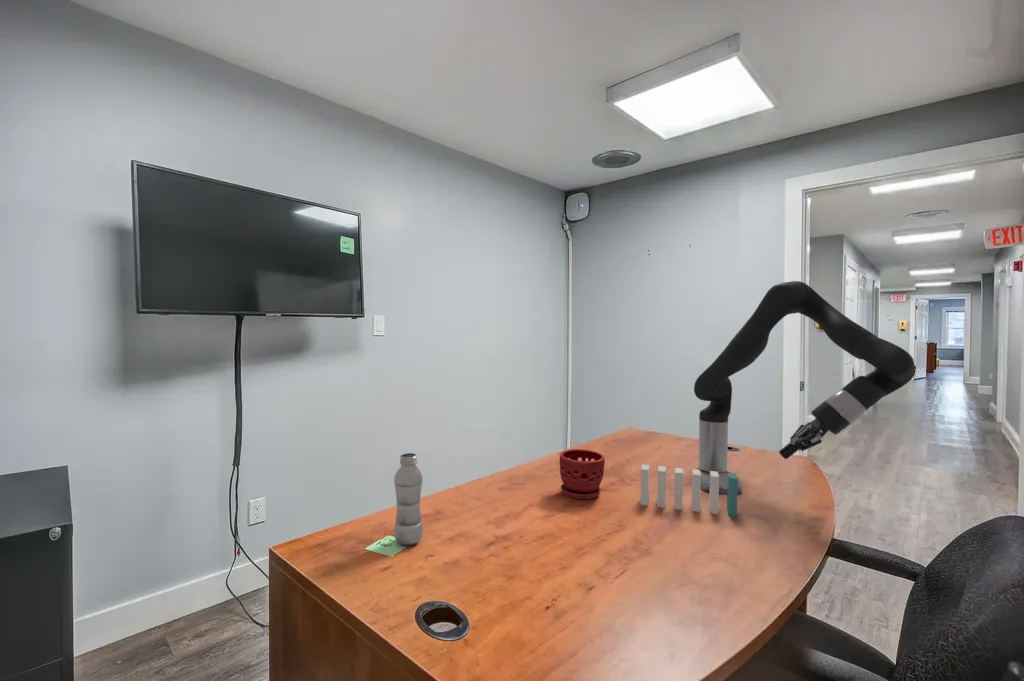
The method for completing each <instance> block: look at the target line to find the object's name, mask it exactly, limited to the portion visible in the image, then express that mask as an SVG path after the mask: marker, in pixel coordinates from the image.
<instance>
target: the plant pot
mask: <svg viewBox="0 0 1024 681" xmlns="http://www.w3.org/2000/svg"><path fill="white" fill-rule="evenodd" d="M605 458H606V457H605V456H604V455H603V454H602V453H600V452H598V451H594V450H588V449H582V448H581V449H580V448H579V449H578V448H576V449H575V448H573V449H572V448H571V449H567V450H564V451H561V452H560V453H559V474H560V479H561V482H562V484H561V485H560V490H561V492H562V493H563V494H564V495H565V496H567V497H569V498H572V499H578V500H590V499H595V498H597V497H598V495H600V493H601V487H600V486H601V483H602V481H603V478H604V472H605V461H606V460H605ZM579 459H581V460H579ZM586 459H587V460H586Z"/></svg>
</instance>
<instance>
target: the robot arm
mask: <svg viewBox="0 0 1024 681" xmlns="http://www.w3.org/2000/svg"><path fill="white" fill-rule="evenodd" d="M792 314H801V315H802V316H805V317H807V318H810V319H811V320H812V321H813V322H815V323H817V325H819V326H820V328H821V330H823V332H824V333H825V335H826V336H827V337H828V338H829V340H830V341H831V342H833V344H835V345H836V346H838V347H839V348H840V349H842V350H843V351H845V352H846V353H848V354H850V355H851V356H852V357H853V358H856V359H858V360H864V361H865V362H867V363H868V364H870V365H871V366H872V367H874V370H872V371H871V372H869V373H868V374H866V375H858V376H857V377H855V378H854V379H852V380H851V381H850V382H848V383H847V384H846V385H845V386H843V387H842V388H841V389H839V390H838V391H836V392H834V393H833V394H831V395H830V396H829V397H827V399H825V400H824V401H823V402H822V403H820V404H819V405H818V406H816V407H815V408H814V409H813V410H812V411H811V415H812V416H813V417H814V419H813V420H812V421H810V422H809V421H807V422H806V423H805V424H801V425H799V427H798V428H797V429H796V430H795V432H794V433H793V435H792V436H791V437H790V441H789V443H787V444H786V445H784V447H783V448H780V450H778V453H779V454H780V456H781V457H782V458H783V459H785V460H787V459H789V458H791V456H793V455H794V454H796V453H797V452H800V451H803V452H804V451H806V450H808V449H811V448H813V447H815V446H817V445H819V444H821V443H822V441H823V440H822V439H824V437H825V435H826V434H827V433H828V432H830V433H831V434H833V435H835V436H837V435H838V434H840V433H841V432H842V431H843V430H844V429H846V428H848V427H849V426H850V425H851V424H853V423H854V422H855V421H856V420H857V419H859V418H860V417H861V416H862V415H863V414H864V413H865V412H866V411H868V410H869V409H871V407H873V406H874V405H875V404H877V403H878V402H879V401H880V400H881V399H882V398H884V397H886V396H889V395H890V394H892V393H894V392H896V391H898V390H899V389H900V388H903V387H904V386H905V385H907V384H908V383H909V382H911V380H912V379H913V378H914V376H915V375H916V366H915V361H914V359H913V356H912V355H911V354H910V353H909V352H908V351H906V350H905V349H903V348H902V347H900V346H898V345H896V344H894V343H893V342H890V341H888V340H886V339H883V338H881V337H879V336H876V335H875V334H874V333H872V332H871V331H869V330H867V329H866V328H865V327H863V326H862V325H860V324H858V323H856V322H855V321H853V320H852V319H851V318H849V317H847V316H846V315H845V314H843V313H842V312H841V311H839V310H837V308H835V307H834V306H833V305H831V303H829V302H828V301H827V300H825V299H824V298H823V297H822V296H821V295H820V294H819V293H817V291H815V289H813V288H812V287H811V286H809V285H808V284H807V283H806V282H803V281H800V280H793V281H783V282H779V283H776V284H774V285H772V287H770V288H769V289H768V290H767V292H766V293H765V295H764V296H763V298H762V300H760V302H759V304H758V306H757V308H756V309H755V311H754V312H753V313H752V315H751V316H750V318H749V319H747V321H746V322H745V323H744V324H743V325H742V327H741V328H740V329H739V330H738V332H737V333H736V334H735V335H734V336H733V337H732V338H731V341H729V343H728V344H727V345H726V347H724V349H723V350H722V351H721V353H720V354H719V355H718V357H717V358H715V360H714V361H713V362H712V363H711V365H709V366H708V367H707V368H705V369H704V371H703V372H702V373H701V374H700V375H699V376H698V377H697V378H696V380H695V382H694V386H693V391H694V396H696V398H697V399H698V400H701V401H703V402H709V404H708V406H705V408H704V409H702V410H700V411H699V416H698V417H699V418H698V420H699V424H698V470H700V471H703V472H708V473H710V471H716V472H718V473H727V472H728V445H729V444H728V440H729V438H728V437H729V434H728V433H729V416H730V414H731V411H732V396H733V395H732V394H733V387H732V382H731V379H730V378H729V377H731V376H734V375H735V374H736V373H738V372H740V371H742V370H744V369H745V368H748V367H749V366H750V365H751V364H753V363H754V362H755V361H756V360H757V359H758V357H759V356H760V355H761V354H762V353H763V352H764V351H765V349H766V347H767V345H768V343H769V342H768V341H769V338H770V334H771V332H772V330H773V329H774V328H775V327H776V325H777V324H778V323H779V322H780V321H781V320H782V319H783V318H785V317H786V316H788V315H792Z"/></svg>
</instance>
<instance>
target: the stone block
mask: <svg viewBox="0 0 1024 681" xmlns="http://www.w3.org/2000/svg"><path fill="white" fill-rule="evenodd" d="M700 473H701V487H702V488H701V490H702V491H704V490H705V491H706V492H710V474H706V473H704V472H700ZM728 473H729V472H723V473H718V475H719V493H720V492H721V494H723V493H724V494H727V485H728ZM705 491H704V492H705ZM742 493H743V487H742V483H741V481H740V480H739V479H738V493H737V494H742Z"/></svg>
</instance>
